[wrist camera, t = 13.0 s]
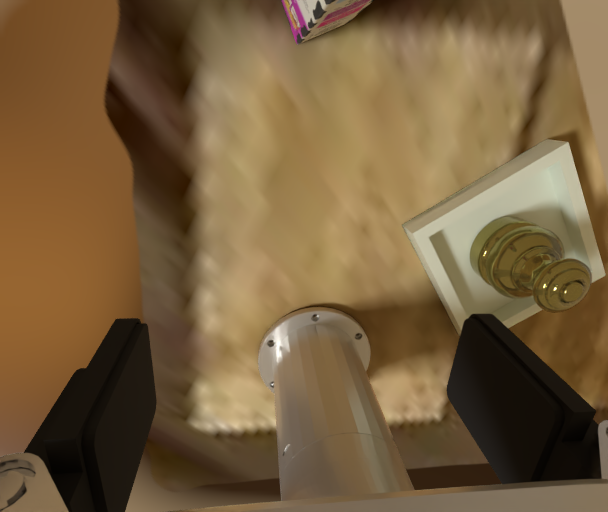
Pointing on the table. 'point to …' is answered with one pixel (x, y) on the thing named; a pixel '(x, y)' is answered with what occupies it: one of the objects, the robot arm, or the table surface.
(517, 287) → the brass door knob
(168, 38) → the table surface
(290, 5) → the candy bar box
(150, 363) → the robot arm
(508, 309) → the tray
